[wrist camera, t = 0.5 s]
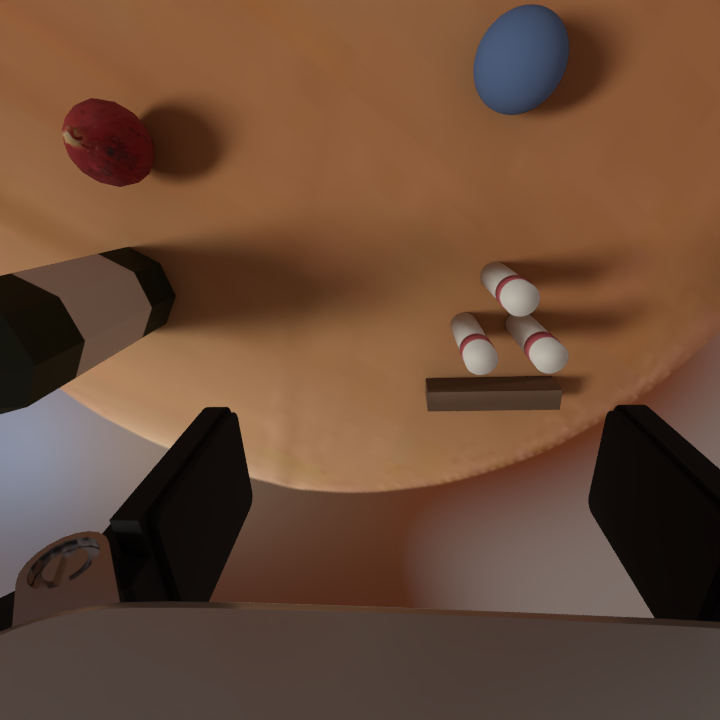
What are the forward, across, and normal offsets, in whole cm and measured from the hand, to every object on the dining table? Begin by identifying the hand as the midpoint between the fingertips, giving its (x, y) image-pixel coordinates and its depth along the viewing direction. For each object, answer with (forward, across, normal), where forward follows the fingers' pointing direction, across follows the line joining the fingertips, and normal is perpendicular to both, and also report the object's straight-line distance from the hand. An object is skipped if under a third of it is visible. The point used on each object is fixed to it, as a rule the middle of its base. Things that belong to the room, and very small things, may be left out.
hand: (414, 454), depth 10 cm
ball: (+25, -8, -14) cm, 30 cm away
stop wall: (+28, -8, +12) cm, 32 cm away
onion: (+28, +22, -10) cm, 37 cm away
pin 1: (+28, -6, +6) cm, 29 cm away
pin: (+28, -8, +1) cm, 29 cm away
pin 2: (+28, -11, +6) cm, 31 cm away
